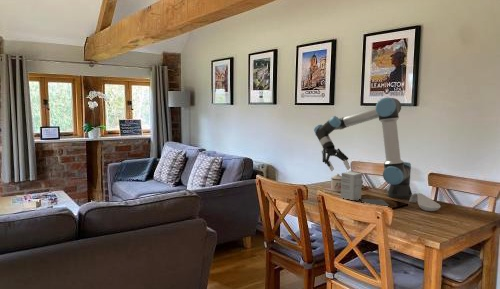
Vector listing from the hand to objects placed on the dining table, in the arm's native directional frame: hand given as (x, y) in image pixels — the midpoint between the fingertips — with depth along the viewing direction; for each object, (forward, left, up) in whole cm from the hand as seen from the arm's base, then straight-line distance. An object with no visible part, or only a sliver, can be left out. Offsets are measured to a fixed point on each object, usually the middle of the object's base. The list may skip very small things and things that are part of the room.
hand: (340, 169), depth 249 cm
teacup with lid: (-2, -15, -17) cm, 23 cm away
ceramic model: (-17, -29, -18) cm, 38 cm away
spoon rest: (-44, +24, -18) cm, 53 cm away
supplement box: (-5, +9, -18) cm, 20 cm away
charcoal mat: (-17, +20, -17) cm, 32 cm away
